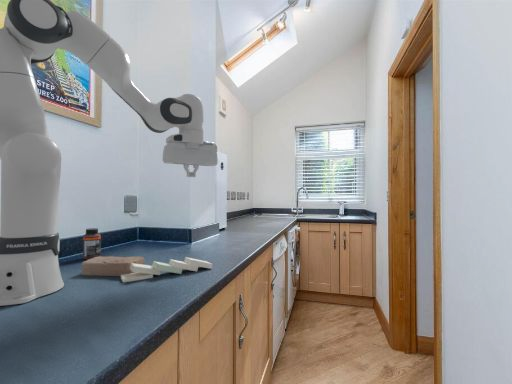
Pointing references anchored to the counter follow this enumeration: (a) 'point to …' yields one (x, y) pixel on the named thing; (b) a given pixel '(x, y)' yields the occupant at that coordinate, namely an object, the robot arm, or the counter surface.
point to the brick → (110, 265)
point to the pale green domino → (166, 267)
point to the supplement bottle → (91, 244)
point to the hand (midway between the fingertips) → (191, 177)
